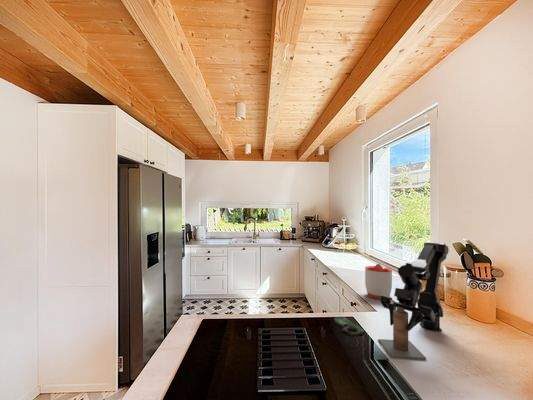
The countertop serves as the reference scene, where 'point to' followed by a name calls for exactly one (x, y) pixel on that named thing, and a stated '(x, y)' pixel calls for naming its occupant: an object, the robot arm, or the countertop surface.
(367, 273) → the citrus juicer
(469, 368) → the countertop surface
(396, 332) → the pepper mill
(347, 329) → the gun
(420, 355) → the trivet mat
